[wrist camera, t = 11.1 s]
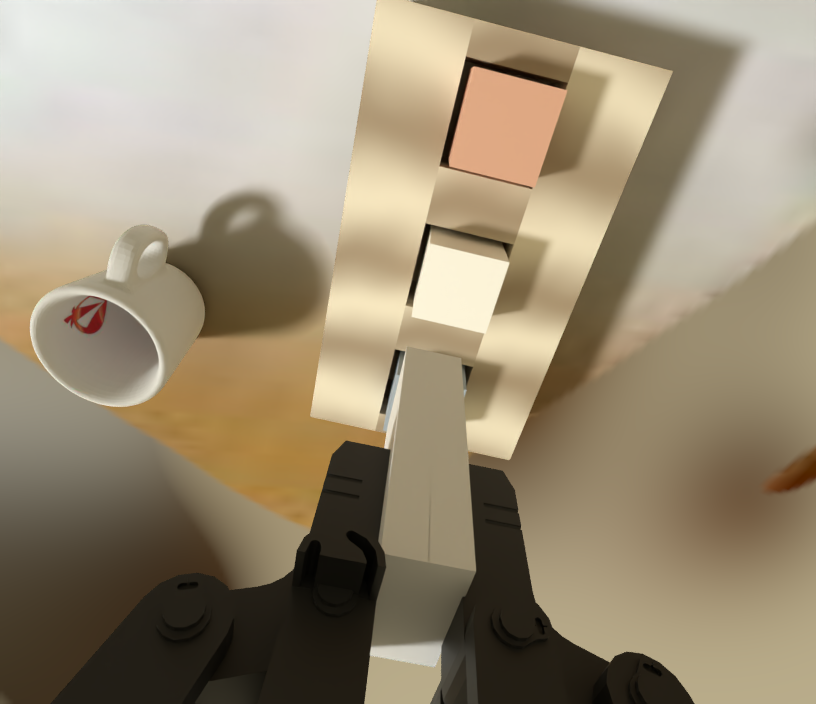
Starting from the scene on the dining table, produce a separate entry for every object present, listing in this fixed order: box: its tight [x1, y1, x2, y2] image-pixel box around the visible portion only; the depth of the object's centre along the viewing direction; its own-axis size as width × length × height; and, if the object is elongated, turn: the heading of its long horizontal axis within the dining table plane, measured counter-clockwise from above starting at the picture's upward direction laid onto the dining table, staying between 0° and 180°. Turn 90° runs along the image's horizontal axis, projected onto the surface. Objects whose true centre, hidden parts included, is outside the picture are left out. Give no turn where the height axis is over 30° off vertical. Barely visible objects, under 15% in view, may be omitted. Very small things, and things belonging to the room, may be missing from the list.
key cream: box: [412, 225, 510, 334], centre depth 28 cm, size 4×4×5 cm
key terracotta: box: [448, 66, 568, 188], centre depth 25 cm, size 4×4×5 cm
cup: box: [30, 225, 205, 407], centre depth 32 cm, size 11×8×8 cm
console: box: [310, 0, 673, 460], centre depth 31 cm, size 24×14×5 cm, turn 167°
